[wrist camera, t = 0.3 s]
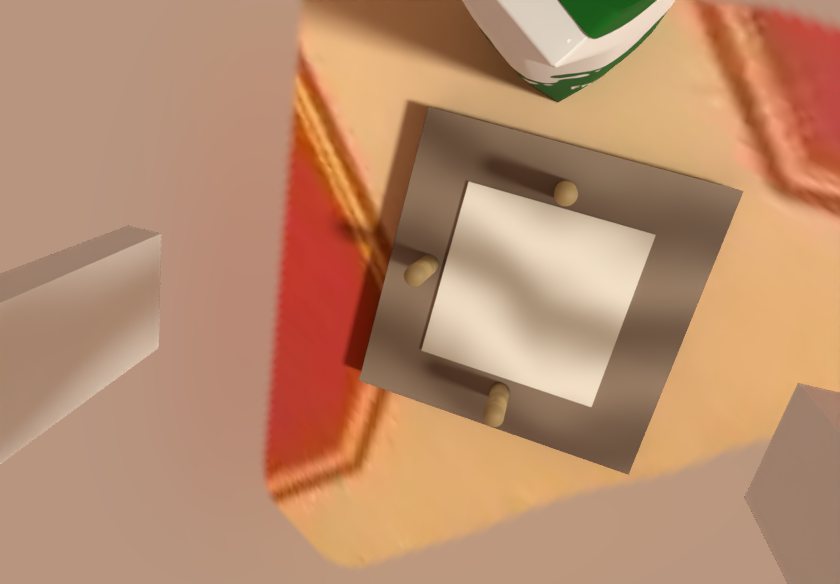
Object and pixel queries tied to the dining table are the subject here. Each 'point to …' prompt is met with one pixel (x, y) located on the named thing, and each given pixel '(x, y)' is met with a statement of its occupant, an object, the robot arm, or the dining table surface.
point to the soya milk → (565, 37)
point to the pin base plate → (542, 285)
